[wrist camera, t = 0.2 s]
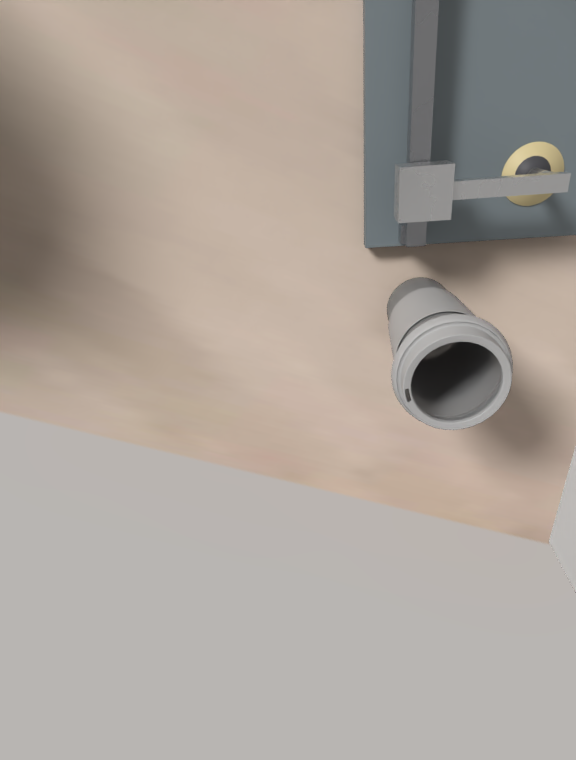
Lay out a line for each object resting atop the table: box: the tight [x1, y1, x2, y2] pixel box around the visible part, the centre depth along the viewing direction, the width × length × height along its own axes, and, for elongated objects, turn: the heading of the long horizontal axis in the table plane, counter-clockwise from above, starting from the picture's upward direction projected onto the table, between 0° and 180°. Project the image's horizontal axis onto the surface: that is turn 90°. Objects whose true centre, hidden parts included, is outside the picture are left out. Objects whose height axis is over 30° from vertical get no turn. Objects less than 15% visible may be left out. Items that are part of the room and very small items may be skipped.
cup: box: [387, 278, 513, 430], centre depth 32 cm, size 7×7×12 cm
